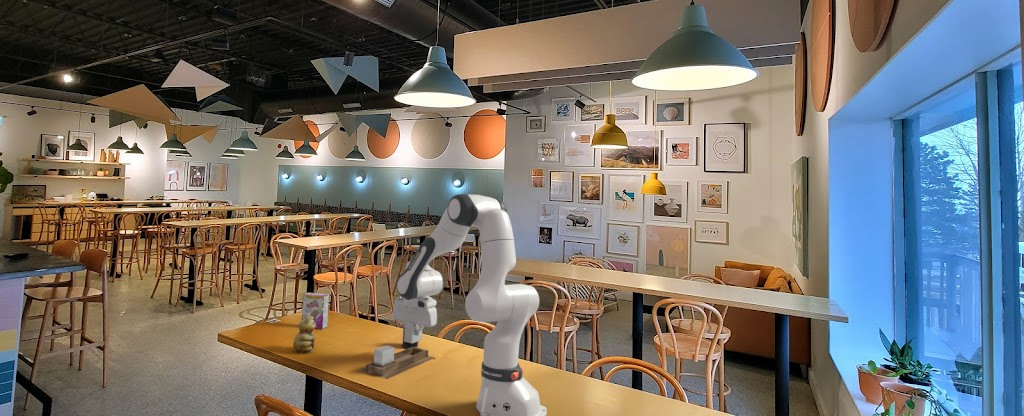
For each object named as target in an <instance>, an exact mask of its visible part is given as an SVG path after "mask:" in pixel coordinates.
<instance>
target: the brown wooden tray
mask: <svg viewBox="0 0 1024 416" xmlns="http://www.w3.org/2000/svg"><path fill="white" fill-rule="evenodd" d="M435 358H436V357H435V356H434V357H433V356H429V350H428V349H426V348H425V349H424V348H420V347H411V348H408V349H407V348H405V349H403V350H401V351H398V352H396V353H394V363H393V364H390V365H388V366H385V367H383V368H381V367H377V366H374V361H373V362H369V363H368V364H365V367H364V368H361V369H359V370H358V371H359V372H361V373H364V374H369V375H373V376H376V377H379V378H383V379H386V380H388V379H391V378H393V377H395V376H397V375H399V374H402V373H404V372H406V371H408V370H411V369H413V368H415V367H418V366H419V365H421V364H424V363H426V362H429V361H431V360H436V359H435Z"/></svg>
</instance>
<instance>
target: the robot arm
mask: <svg viewBox="0 0 1024 416" xmlns="http://www.w3.org/2000/svg"><path fill="white" fill-rule="evenodd" d="M471 227H473V228H474V227H475V228H476V229H478V231H479V241H480V242H479V243H480V255H481V259H480V260H481V270H480V274H479V278H478V280H477V282H476V284H475V286H474V287H473V288H472V289H471V290H470V291H469V292H468V294H467V296H466V298H465V302H464V305H465V306H464V307H465V311H466V314H467V316H468V317H469V318H470V319H471V321H473V322H477V323H478V322H479V323H493V322H497V323H496V324H495V327H494V328H492V330H491V331H490V332H488V333H487V334H486V336H485V338H484V340H483V341H484V342H483V356H482V357H483V358H482V359H483V361H482V362H481V370H480V374H481V384H480V389H479V394H478V398H477V399H478V400H477V401H476V404H475V408H476V410H477V412H479V415H480V416H547V414H548V410H547V407H546V406H544V405H541V401H540V400H541V399H540V395H539V392H538V390H537V389H536V388H534V387H533V386H532V385H531V383H530V382H529V381H528V380H527V379H526V378H524V376H523V373H524V372H525V369H526V367H525V366H524V367H521V366H520V363H519V353H520V352H519V350H520V342H521V338H522V335H523V331H524V329H525V327H526V325H527V323H528V322H529V320H530V319H531V317H533V315H534V314H535V313H536V312H537V311H538V309H539V306H540V296H539V293H538V291H537V289H536V288H535V287H533V286H532V285H529V284H525V283H524V284H522V283H512V284H505V283H506V277H507V275H508V273H510V271H512V270H513V269H514V268H515V266H516V264H517V256H516V246H515V238H514V232H513V226H512V221H511V220H510V216H509V214H508V208H507V205H506V203H505V202H504V201H503V200H502V199H500V198H497V197H490V196H486V195H481V194H471V193H470V194H466V193H460V194H455V195H453V196H451V198H450V200H449V202H448V204H447V207H446V208H445V210H444V212H443V214H442V216H441V218H440V220H439V222H438V224H437V226H436V227H435V229H434V230H433V232H432V233H431V234H430V235H429V236H428V237H426V238H425V239H424V240H423V241H422V243H421V244H420V246H419V247H418V248H417V250H416V253H415V254H414V256H413V257H412V258H411V260H409V261H407V263H406V266H405V270H404V271H403V272H402V273H401V274H400V276H399V277H398V278H397V282H396V290H397V291H396V292H397V293H398V294H399V296H397V297H395V298H394V304H393V308H392V319H393V320H395V321H399V322H402V324H403V328H404V327H405V321H410V322H414V323H415V324H417V325H418V327H419V329H418V331H416V335H417V336H420V335H421V333H422V334H423V329H424V328H425V327H427V328H432V327H435V326H436V325H437V323H438V312H437V308H436V305H438V304H437V300H436V299H434V298H432V297H431V296H435V295H438V294H440V293H441V292H442V291H443V289H444V286H445V278H444V276H443V275H442V273H441V272H440V271H438V270H436V269H434V268H432V267H431V265H429V264H430V263H431V262H432V260H434V259H435V258H437V257H439V256H442V255H444V254H448V253H449V252H451V253H452V252H454V251H455V250H458V249H460V247H461V246H462V244H463V243H464V242H465V240H466V237H467V235H468V233H469V231H470V230H471Z"/></svg>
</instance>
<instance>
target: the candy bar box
mask: <svg viewBox="0 0 1024 416" xmlns="http://www.w3.org/2000/svg"><path fill="white" fill-rule="evenodd" d="M329 299H330V294H327V293H326V294H325V293H316V292H305V293H303V294H302V306H301V307H302V310H301V311H302V314H301V321H302V320H304V319H305V317H306V315H308V314H310V316H313V317H314V319H313V320H314V322H315V323H316V328H319V329H318V330H324V329H326V328H328V322H329V321H328V320H329V303H330V301H329ZM325 327H326V328H325ZM323 328H324V329H323Z"/></svg>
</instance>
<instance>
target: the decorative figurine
mask: <svg viewBox="0 0 1024 416" xmlns="http://www.w3.org/2000/svg"><path fill="white" fill-rule="evenodd" d="M313 319H314V317H313V316H310V314H308V315H306V317H305V319H304V320H302V319H301V321H300V322H299V323H298V329H299V332H298V333H297V334H296V335H295V337H294V340H293V343H292V344H293V348H294V349H295V351H298V352H301V353H312V352H313V349H314V348H315V342H316V341H315V340H316V337H315V336H314V333H313V331H314V330H315V328H316V323H315V322H314V320H313Z"/></svg>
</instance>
